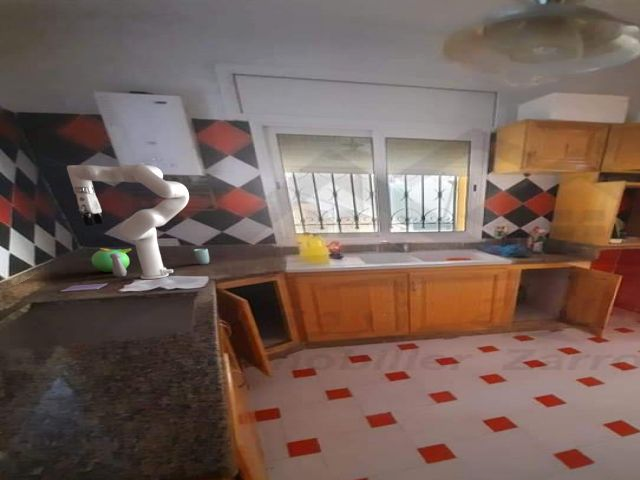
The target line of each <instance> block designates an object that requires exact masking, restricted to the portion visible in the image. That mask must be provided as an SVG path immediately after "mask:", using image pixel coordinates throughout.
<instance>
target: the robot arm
mask: <svg viewBox="0 0 640 480" xmlns="http://www.w3.org/2000/svg"><path fill="white" fill-rule="evenodd" d="M66 170H67V172H68V176H69V180H70V183H71V186H72V189H73V193H74V195H76V200H77V205H78V211H79V213H80V216H81V217H82V219H83V223H84V225H85V226H87V227H90V226H91V227H93V226H95V224H96V225H104V220H103V216H102V211H103V210H102V207H101V204H100V202H99V200H98V199H99V198H98V197H97V195H96V190H95V187H94V185H93V182H113V183H114V182H117V183H118V182H123V183H124V182H126V183H140V184H141V185H143V186H144V187H146V188H147V189H149V190H150V191H151V192H152V193H154V194H156V195H157V196H159V197H161V198H164V200H162V201H160V202H159V203H158V204H157V205H155V206H154V207H152V208H144V209H140V210H138V211H136V212H135V213H133V214H132V215H131V216H130V217H129V218H127V219H126V220H125V221H124V222H122V224H121V225H120V227H119V234H120V236H121V237H123V239H125V240H128V241H135V249H136V253H137V256H138V260H139V264H140V267H141V270H142V275H140V279H141V280H154V279H161V278H165V277H168V276H169V275H170V274H173V273H174V269H172V268H170V269H169V268H167V267H166V266H164V263H163V260H162V255H161V252H160V247H159V242H158V237H157V236H158V235H157V229H156V228H159V227H162V226H165V225H166V224H167V223H168V222H169V221H170V220H172V218H175V216H176V215H177V214H179V213H180V212H181V211H182V210H183V209H184V208H185V207H186V206H187V205H188V203H189V200H190V195H189V190H188V188H187V187H186V186H185V185H184V184H183V183H181V182H178V181H174V180H165V179H164V174H163V172H162V170H161V169H160V168H158V167H157V166H155V165H151V164H143V163H138V164H122V165H121V166H103V165H94V164H85V165H74V164H71V165H67V166H66ZM92 215H93V217H91V216H92ZM94 223H95V224H94Z"/></svg>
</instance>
